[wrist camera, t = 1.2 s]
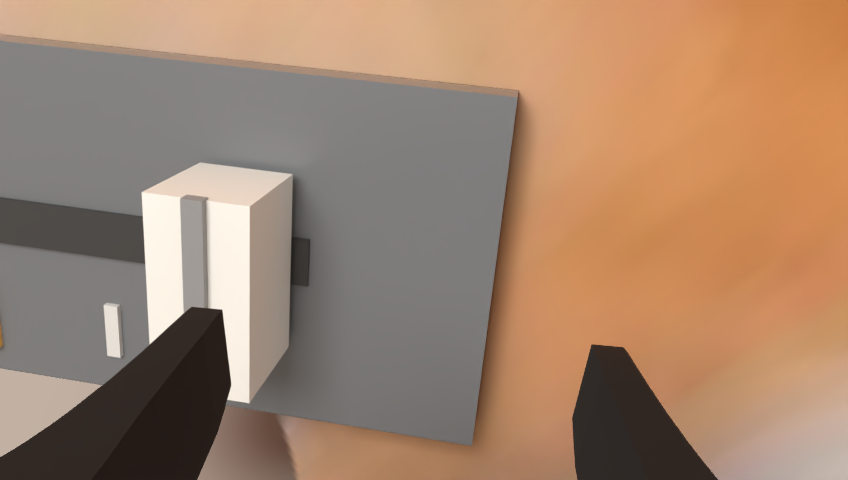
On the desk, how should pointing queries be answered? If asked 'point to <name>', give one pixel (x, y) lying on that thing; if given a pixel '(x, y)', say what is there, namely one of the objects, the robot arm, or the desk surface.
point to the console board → (311, 220)
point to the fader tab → (223, 261)
